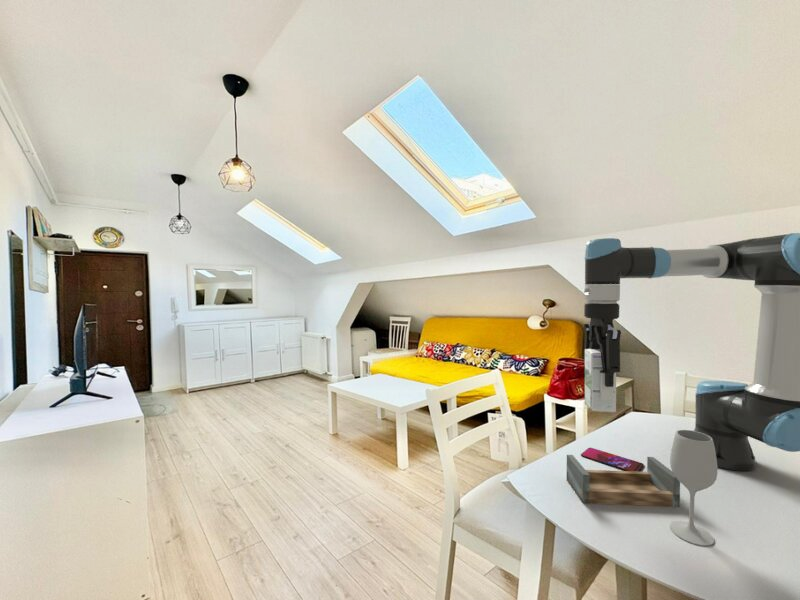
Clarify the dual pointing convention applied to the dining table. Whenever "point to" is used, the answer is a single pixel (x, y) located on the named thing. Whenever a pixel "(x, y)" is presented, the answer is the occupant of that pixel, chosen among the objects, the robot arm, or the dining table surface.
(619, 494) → the track
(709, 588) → the dining table surface
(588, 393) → the syrup box
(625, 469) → the smartphone
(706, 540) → the wineglass
